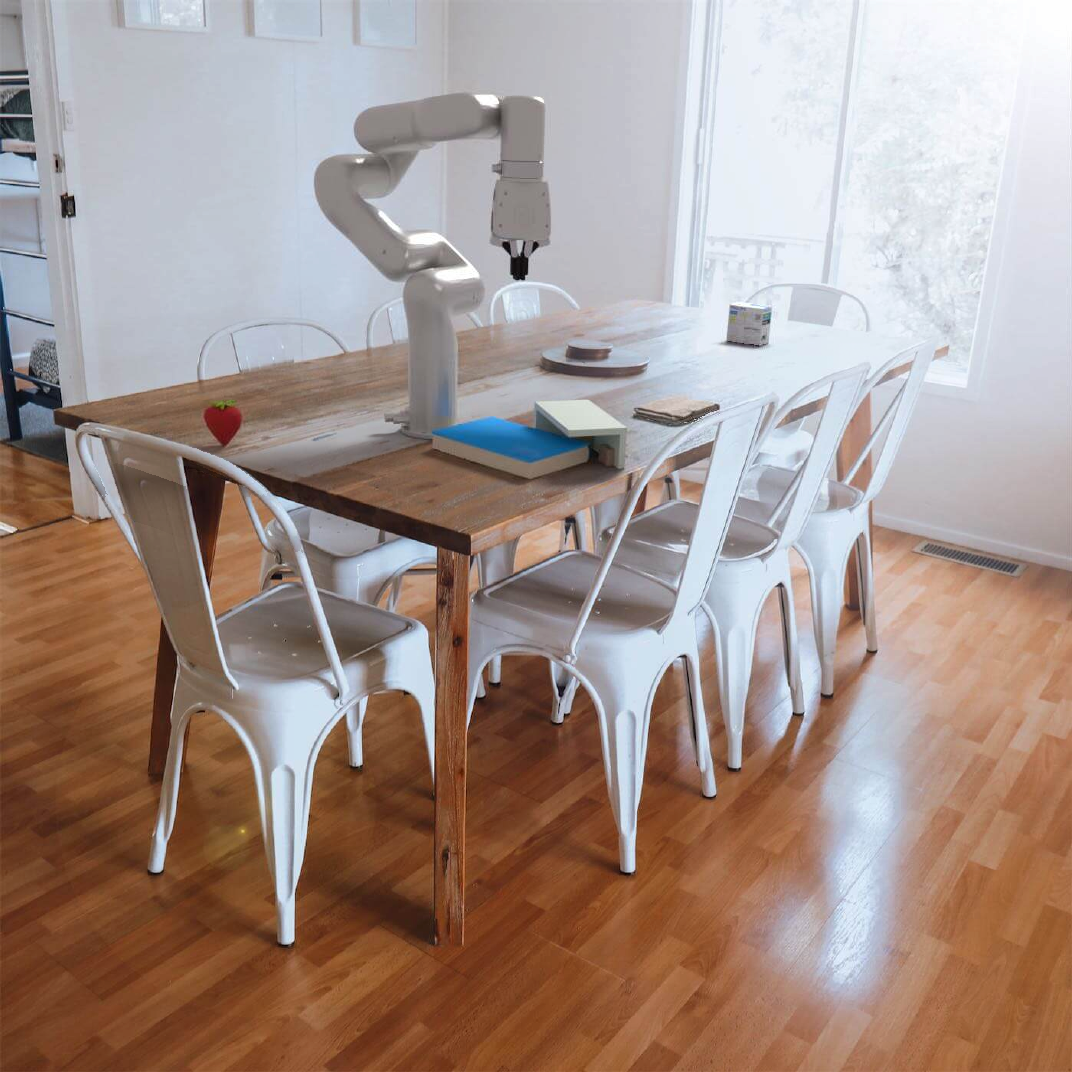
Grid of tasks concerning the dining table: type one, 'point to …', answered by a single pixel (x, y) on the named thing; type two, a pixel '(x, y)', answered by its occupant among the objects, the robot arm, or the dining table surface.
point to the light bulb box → (749, 323)
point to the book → (511, 447)
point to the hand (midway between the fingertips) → (518, 279)
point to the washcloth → (675, 410)
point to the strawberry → (223, 420)
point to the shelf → (584, 427)
